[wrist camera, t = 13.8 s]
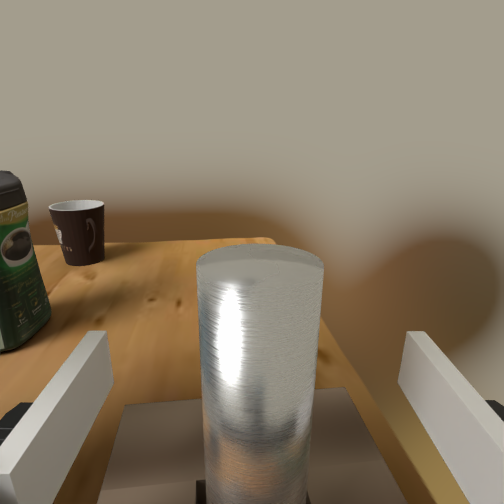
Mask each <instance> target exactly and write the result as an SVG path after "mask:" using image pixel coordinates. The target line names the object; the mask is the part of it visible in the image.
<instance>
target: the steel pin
mask: <svg viewBox="0 0 504 504" xmlns="http://www.w3.org/2000/svg"><path fill="white" fill-rule="evenodd" d="M196 269H197V292H198V316H199V339H200V362H201V386H202V409H203V432H204V456H205V479H206V502H207V504H306V493H307V480H308V467H309V454H310V441H311V428H312V415H313V402H314V389H315V376H316V363H317V350H318V337H319V324H320V311H321V297H322V285H323V272H324V264H323V262H322V261H321V260H320V259H319V258H318V257H317V256H315V255H313V254H312V253H309V252H307V251H304V250H301V249H297V248H293V247H288V246H282V245H273V244H241V245H233V246H227V247H222V248H218V249H215V250H212V251H210V252H207V253H206V254H204V255H202V256H201V257H200V258H199V259H198V261H197V263H196Z"/></svg>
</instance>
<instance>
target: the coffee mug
mask: <svg viewBox="0 0 504 504" xmlns="http://www.w3.org/2000/svg"><path fill="white" fill-rule="evenodd" d="M49 211H50V214H51V217H52V220H53V223H54V226H55V229H56V232H57V236H58V239H59V242H60V245H61V248H62V252H63V255H64V258H65V261H66V263H67V264H68V265H72V266H85V265H91V264H95V263H98V262H100V261H102V260H103V259H104V203H103V202H101V201H94V200H76V201H68V202H67V201H66V202H60V203H56V204H53V205H51V206H49Z"/></svg>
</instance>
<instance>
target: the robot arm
mask: <svg viewBox="0 0 504 504" xmlns="http://www.w3.org/2000/svg"><path fill="white" fill-rule="evenodd" d="M113 384H114V379H113V372H112V365H111V358H110V351H109V344H108V338H107V331H88V332H87V334H86V335H85V336H84V337H83V339H82V340H81V341H80V343H79V344H78V345H77V347H76V348H75V349H74V351H73V352H72V353H71V354H70V356H69V357H68V358H67V360H66V361H65V362H64V364H63V365H62V366H61V368H60V369H59V370H58V371H57V373H56V374H55V375H54V377H53V378H52V379H51V381H50V382H49V383H48V384H47V386H46V387H45V388H44V390H43V391H42V392H41V394H40V395H39V396H38V398H37V399H36V400H35V401H34V403H20V404H18V405H17V406H16V407H14V408H13V409H12V410H10V411H9V412H8V413H6V414H5V415H4V416H3V418H2V419H1V420H0V504H52V503H53V501H54V499H55V497H56V496H57V494H58V492H59V490H60V488H61V486H62V484H63V482H64V480H65V478H66V476H67V474H68V472H69V470H70V468H71V466H72V464H73V462H74V460H75V458H76V456H77V454H78V452H79V451H80V449H81V447H82V445H83V443H84V441H85V439H86V437H87V435H88V433H89V431H90V429H91V427H92V425H93V423H94V421H95V419H96V417H97V415H98V413H99V411H100V409H101V407H102V406H103V404H104V402H105V400H106V398H107V396H108V394H109V392H110V390H111V388H112V386H113ZM398 384H399V386H400V387H401V389H402V391H403V392H404V394H405V396H406V398H407V399H408V401H409V403H410V404H411V406H412V408H413V409H414V411H415V413H416V414H417V416H418V417H419V419H420V421H421V423H422V424H423V426H424V427H425V429H426V431H427V433H428V434H429V436H430V438H431V439H432V441H433V443H434V445H435V446H436V448H437V450H438V451H439V453H440V455H441V456H442V458H443V460H444V461H445V463H446V465H447V466H448V468H449V470H450V471H451V473H452V475H453V476H454V478H455V480H456V481H457V483H458V485H459V486H460V488H461V490H462V491H463V493H464V495H465V497H466V498H467V500H468V501H469V503H470V504H504V406H502V405H501V404H499V403H498V402H496V401H495V400H484V399H483V398H482V397H481V396H480V394H479V393H478V392H477V391H476V390H475V389H474V388H473V386H471V384H470V383H469V382H468V381H467V380H466V378H465V377H464V376H463V375H462V374H461V373H460V372H459V371H458V369H457V368H456V367H455V366H454V365H453V364H452V363H451V361H450V360H449V359H448V358H447V357H446V356H445V354H444V353H443V352H442V351H441V350H440V349H439V348H438V346H437V345H436V344H435V343H434V342H433V341H432V340H431V338H430V337H429V336H428V335H427V334H426V333H425V332H424V331H408V332H407V335H406V340H405V345H404V350H403V356H402V361H401V367H400V372H399V377H398Z"/></svg>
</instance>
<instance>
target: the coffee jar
mask: <svg viewBox="0 0 504 504" xmlns="http://www.w3.org/2000/svg"><path fill="white" fill-rule="evenodd" d="M50 316H51V307H50V303H49V299H48V296H47V293H46V289H45V286H44V283H43V280H42V277H41V273H40V270H39V266H38V262H37V259H36V255H35V251H34V247H33V244H32V240H31V235H30V230H29V223H28V202H27V198H26V195H25V192H24V189H23V186H22V183H21V181H20V180H19V179H18V177H16V176H15V175H13V174H12V173H11V172H10V171H0V352H1V351H6V350H11V349H14V348H16V347H18V346H20V345H22V344H23V343H24V342H26V341H27V340H28V339H29V338H31V337H32V336H33V335H34V334H35V333H36V332H38V331H39V330H40V329H41V328H42V327H43V326H44V325H45V323H46V322H47V321H48V320H49V318H50Z"/></svg>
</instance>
